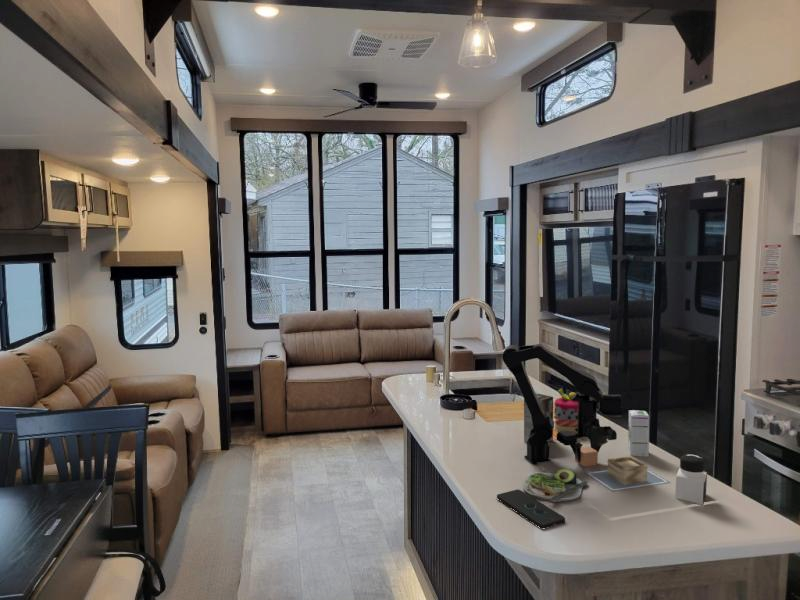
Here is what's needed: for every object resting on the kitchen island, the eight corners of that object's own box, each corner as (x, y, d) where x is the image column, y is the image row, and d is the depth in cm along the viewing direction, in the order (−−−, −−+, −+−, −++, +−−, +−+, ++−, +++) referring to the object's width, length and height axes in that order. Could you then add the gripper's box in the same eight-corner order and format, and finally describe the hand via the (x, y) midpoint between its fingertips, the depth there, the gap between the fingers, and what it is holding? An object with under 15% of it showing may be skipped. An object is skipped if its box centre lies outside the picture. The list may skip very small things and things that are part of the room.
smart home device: (541, 525, 152) (495, 494, 170) (541, 531, 152) (495, 500, 170) (566, 517, 155) (519, 488, 173) (566, 523, 156) (519, 494, 173)
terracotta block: (583, 468, 190) (583, 453, 189) (574, 462, 195) (575, 447, 194) (597, 466, 191) (597, 451, 191) (588, 460, 196) (588, 446, 196)
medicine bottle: (703, 506, 163) (705, 463, 162) (674, 500, 167) (676, 458, 166) (706, 496, 169) (707, 455, 168) (678, 490, 173) (680, 450, 172)
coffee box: (538, 435, 220) (539, 393, 219) (553, 440, 216) (554, 396, 214) (523, 441, 214) (523, 398, 213) (538, 446, 210) (538, 401, 208)
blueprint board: (612, 493, 172) (612, 491, 172) (584, 474, 185) (584, 472, 185) (671, 484, 177) (671, 482, 177) (640, 466, 190) (640, 464, 190)
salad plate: (583, 512, 162) (583, 495, 161) (516, 501, 168) (517, 486, 168) (588, 483, 179) (589, 468, 179) (528, 475, 186) (528, 461, 186)
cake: (581, 425, 231) (581, 387, 230) (584, 434, 221) (585, 394, 219) (553, 423, 233) (553, 386, 232) (555, 433, 223) (555, 393, 221)
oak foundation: (623, 484, 176) (624, 469, 176) (607, 474, 184) (607, 459, 183) (647, 481, 178) (647, 465, 178) (629, 470, 186) (630, 456, 185)
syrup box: (649, 458, 197) (650, 415, 196) (630, 457, 198) (631, 414, 197) (645, 452, 203) (646, 410, 201) (627, 451, 204) (628, 409, 202)
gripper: (575, 425, 181) (574, 474, 183) (628, 418, 186) (626, 467, 188) (555, 414, 192) (555, 461, 193) (606, 408, 197) (605, 454, 198)
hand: (586, 461), depth 193 cm, fingers closed on terracotta block, 5 cm apart
